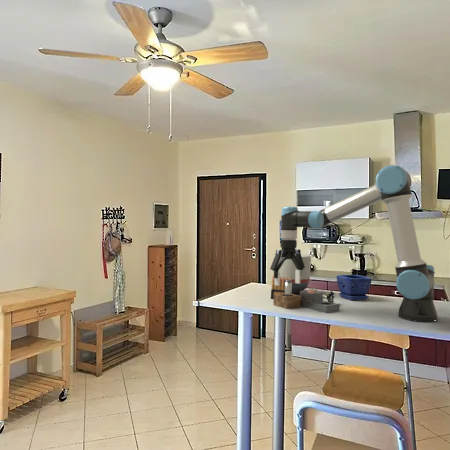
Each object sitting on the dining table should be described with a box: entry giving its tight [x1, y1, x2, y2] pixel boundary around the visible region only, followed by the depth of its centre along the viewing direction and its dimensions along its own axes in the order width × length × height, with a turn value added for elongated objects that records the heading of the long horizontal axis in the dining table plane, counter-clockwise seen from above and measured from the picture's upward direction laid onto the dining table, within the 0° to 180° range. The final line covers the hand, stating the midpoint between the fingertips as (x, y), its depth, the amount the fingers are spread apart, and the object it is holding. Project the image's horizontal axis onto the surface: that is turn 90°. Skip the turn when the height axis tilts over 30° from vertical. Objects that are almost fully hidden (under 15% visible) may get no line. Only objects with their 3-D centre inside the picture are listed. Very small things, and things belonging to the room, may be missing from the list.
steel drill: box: [285, 280, 292, 297], centre depth 191 cm, size 3×3×12 cm
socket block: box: [299, 289, 341, 314], centre depth 188 cm, size 18×9×7 cm, turn 35°
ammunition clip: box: [270, 275, 291, 300], centre depth 206 cm, size 11×2×12 cm, turn 65°
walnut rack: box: [272, 293, 301, 310], centre depth 191 cm, size 9×9×5 cm
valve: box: [309, 287, 335, 303], centre depth 200 cm, size 7×7×12 cm
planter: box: [273, 253, 312, 295], centre depth 225 cm, size 20×20×21 cm
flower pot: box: [336, 274, 372, 301], centre depth 214 cm, size 13×13×12 cm
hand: (287, 284), depth 191 cm, fingers open, 13 cm apart
